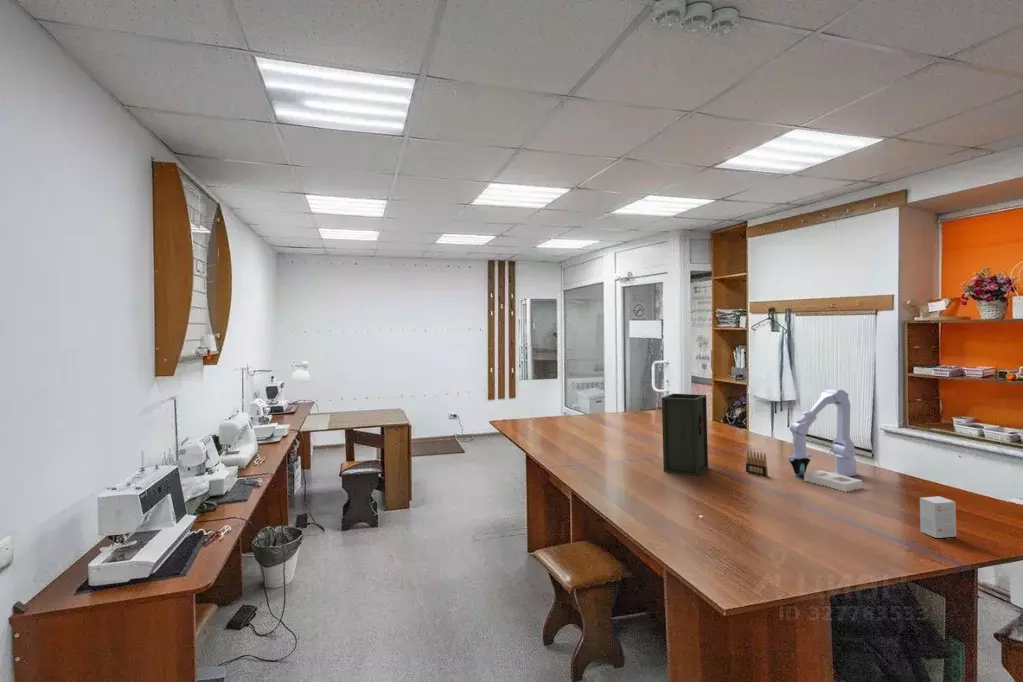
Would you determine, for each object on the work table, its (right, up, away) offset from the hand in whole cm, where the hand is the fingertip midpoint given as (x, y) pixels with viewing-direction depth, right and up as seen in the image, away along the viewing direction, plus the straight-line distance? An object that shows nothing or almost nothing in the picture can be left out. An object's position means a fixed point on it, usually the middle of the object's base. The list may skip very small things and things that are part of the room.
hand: (800, 473), depth 251 cm
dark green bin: (-51, -3, +20) cm, 54 cm away
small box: (+8, -3, -72) cm, 73 cm away
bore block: (+8, -2, -13) cm, 15 cm away
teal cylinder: (0, -2, 0) cm, 2 cm away
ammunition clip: (-18, -3, +7) cm, 20 cm away
